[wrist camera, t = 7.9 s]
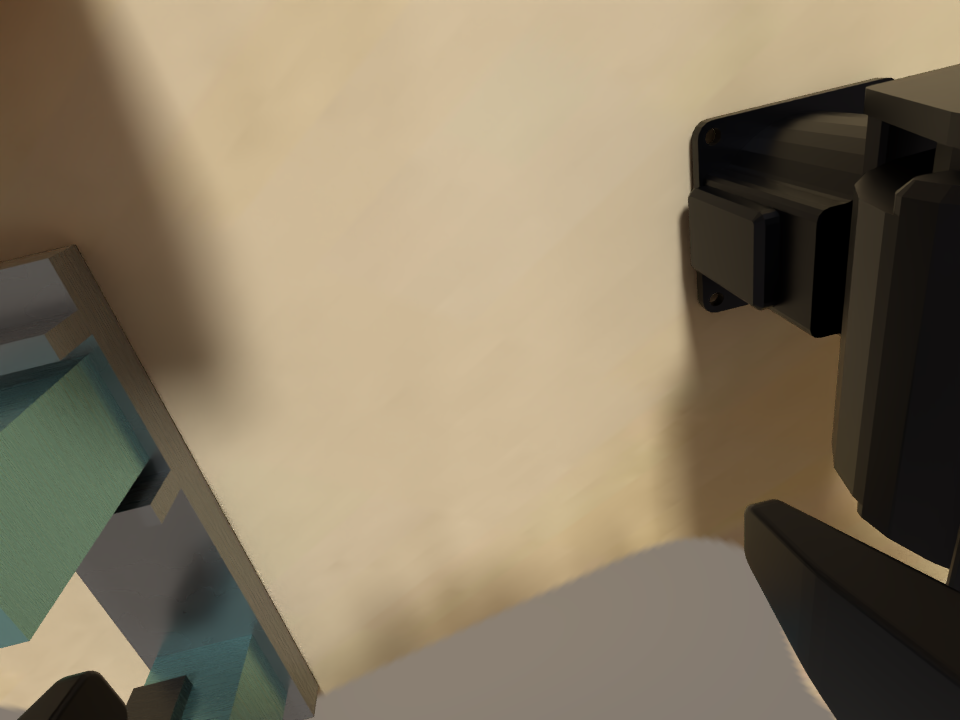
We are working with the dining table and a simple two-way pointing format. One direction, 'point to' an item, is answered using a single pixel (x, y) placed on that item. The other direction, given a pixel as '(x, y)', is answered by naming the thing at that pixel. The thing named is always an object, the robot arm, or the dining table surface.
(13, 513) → the block
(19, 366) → the rail
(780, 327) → the dining table surface
